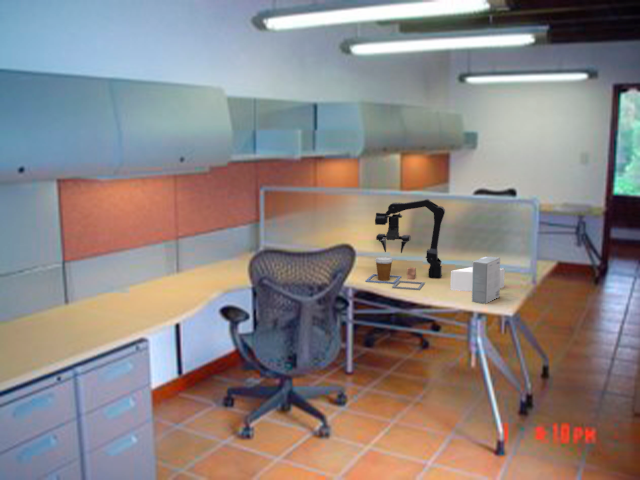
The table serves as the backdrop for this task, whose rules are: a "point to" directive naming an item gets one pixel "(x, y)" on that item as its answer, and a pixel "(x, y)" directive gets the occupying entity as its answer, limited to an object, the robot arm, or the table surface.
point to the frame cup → (382, 281)
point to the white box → (467, 279)
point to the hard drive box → (486, 279)
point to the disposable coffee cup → (383, 268)
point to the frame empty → (408, 287)
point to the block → (411, 273)
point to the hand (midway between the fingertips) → (393, 252)
